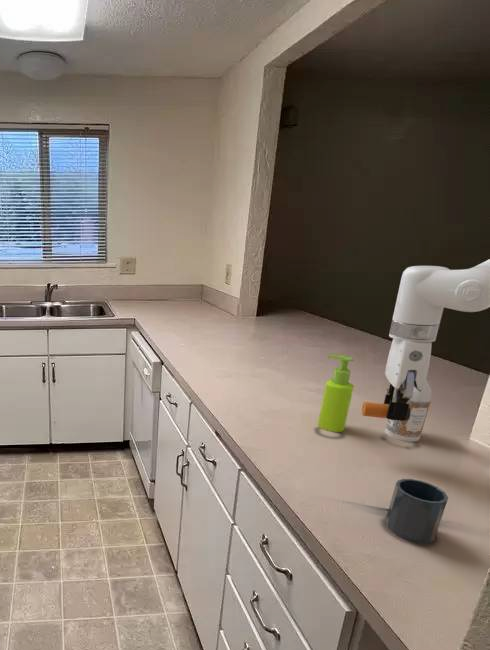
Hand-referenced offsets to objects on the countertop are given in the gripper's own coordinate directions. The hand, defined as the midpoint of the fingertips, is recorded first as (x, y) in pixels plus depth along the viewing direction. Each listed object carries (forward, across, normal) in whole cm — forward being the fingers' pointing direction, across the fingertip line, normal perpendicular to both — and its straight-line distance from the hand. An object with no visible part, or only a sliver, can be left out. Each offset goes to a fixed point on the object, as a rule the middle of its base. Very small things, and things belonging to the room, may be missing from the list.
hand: (393, 415), depth 91 cm
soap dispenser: (+12, +14, +9) cm, 21 cm away
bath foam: (+12, +15, -7) cm, 21 cm away
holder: (+12, -23, 0) cm, 26 cm away
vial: (+1, 0, +1) cm, 2 cm away
